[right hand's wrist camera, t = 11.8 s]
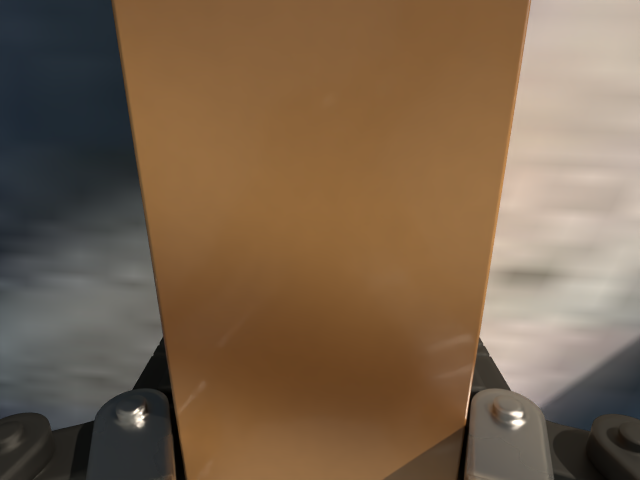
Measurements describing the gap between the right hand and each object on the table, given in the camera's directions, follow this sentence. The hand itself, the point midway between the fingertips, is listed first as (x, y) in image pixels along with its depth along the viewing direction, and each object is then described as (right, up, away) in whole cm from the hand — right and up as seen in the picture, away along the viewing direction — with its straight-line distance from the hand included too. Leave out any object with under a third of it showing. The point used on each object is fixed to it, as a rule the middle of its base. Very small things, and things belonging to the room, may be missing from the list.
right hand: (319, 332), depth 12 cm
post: (0, +20, -4) cm, 21 cm away
